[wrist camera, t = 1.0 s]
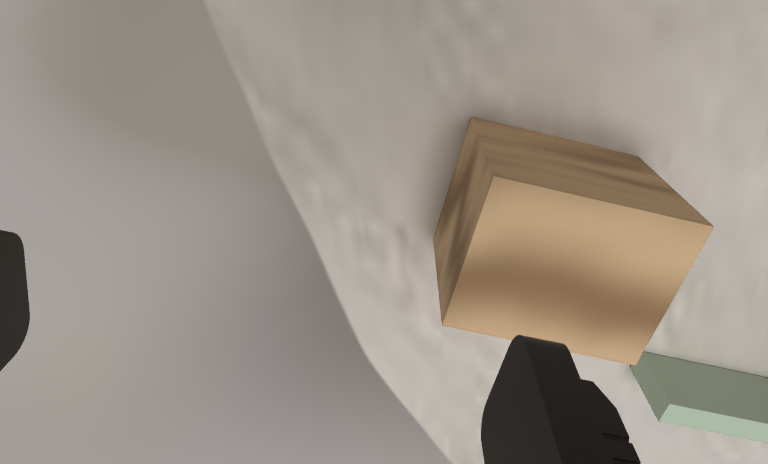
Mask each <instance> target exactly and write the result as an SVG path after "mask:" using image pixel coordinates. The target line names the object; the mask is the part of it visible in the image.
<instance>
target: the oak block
mask: <svg viewBox="0 0 768 464" xmlns="http://www.w3.org/2000/svg"><path fill="white" fill-rule="evenodd" d="M713 228H714V226H713V225H712V224H711V223H709V222H708V221H707V220H706V219H705V218H704V217H703V216H702V215H701V214H700V213H699V212H698V211H697V210H695V209H694V208H693V207H692V206H691V205H690V204H689V203H688V202H687V201H686V200H685V199H684V198H682V197H681V196H680V195H679V194H678V193H677V192H676V191H675V190H674V189H673V188H672V187H671V186H670V185H668V184H667V183H666V182H665V181H664V180H663V179H662V178H661V177H660V176H659V175H658V174H657V173H656V172H654V171H653V170H652V169H651V168H650V167H649V166H648V165H647V164H646V163H645V162H644V161H643V160H641V159H640V158H639V157H638V156H634V155H630V154H626V153H621V152H617V151H613V150H609V149H605V148H600V147H596V146H592V145H588V144H584V143H579V142H575V141H571V140H567V139H563V138H558V137H554V136H550V135H546V134H542V133H538V132H533V131H529V130H525V129H521V128H517V127H512V126H508V125H504V124H500V123H496V122H491V121H487V120H483V119H479V118H475V117H471V118H470V121H469V125H468V128H467V131H466V134H465V138H464V141H463V144H462V147H461V150H460V154H459V157H458V160H457V163H456V167H455V170H454V173H453V176H452V180H451V183H450V186H449V189H448V192H447V196H446V199H445V202H444V205H443V209H442V212H441V215H440V218H439V222H438V225H437V228H436V231H435V234H434V238H433V242H434V252H435V261H436V271H437V281H438V291H439V301H440V310H441V320H442V326H447V327H452V328H457V329H461V330H466V331H471V332H476V333H481V334H485V335H490V336H495V337H500V338H505V339H510V340H513V339H514V337H516V336H517V335H523V336H528V337H533V338H538V339H543V340H548V341H553V342H558V343H563V344H565V345H566V346H567V347H568V349H569V351H570V352H572V353H577V354H582V355H587V356H592V357H597V358H601V359H606V360H611V361H616V362H621V363H626V364H630V365H636V364H637V362H638V360H639V358H640V357H641V355H642V353H643V351H644V350H645V348H646V346H647V344H648V343H649V341H650V339H651V337H652V336H653V334H654V332H655V330H656V329H657V327H658V325H659V323H660V321H661V320H662V318H663V316H664V314H665V313H666V311H667V309H668V307H669V306H670V304H671V302H672V300H673V299H674V297H675V295H676V293H677V292H678V290H679V288H680V286H681V285H682V283H683V281H684V279H685V277H686V276H687V274H688V272H689V270H690V269H691V267H692V265H693V263H694V262H695V260H696V258H697V256H698V255H699V253H700V251H701V249H702V248H703V246H704V244H705V242H706V241H707V239H708V237H709V235H710V234H711V232H712V230H713Z"/></svg>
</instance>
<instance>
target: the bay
mask: <svg viewBox="0 0 768 464" xmlns="http://www.w3.org/2000/svg"><path fill="white" fill-rule="evenodd" d="M630 368H631V370H632V372H633V374H634V376H635V378H636V380H637V382H638V383H639V385H640V387H641V389H642V391H643V393H644V395H645V397H646V399H647V400H648V402H649V404H650V406H651V408H652V410H653V412H654V414H655V416H656V417H657V419H658V421H659V422H664V423H669V424H674V425H679V426H684V427H689V428H694V429H699V430H704V431H709V432H714V433H719V434H724V435H729V436H734V437H739V438H744V439H749V440H754V441H759V442H764V443H768V378H766V377H762V376H757V375H752V374H747V373H743V372H738V371H733V370H728V369H723V368H719V367H714V366H709V365H704V364H700V363H695V362H690V361H685V360H681V359H676V358H671V357H666V356H661V355H657V354H652V353H647V352H643V353H642V355H641V357H640V358H639V360H638V362H637V364H636V365H631V366H630Z"/></svg>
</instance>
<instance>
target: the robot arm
mask: <svg viewBox="0 0 768 464" xmlns="http://www.w3.org/2000/svg"><path fill="white" fill-rule="evenodd" d="M29 320H30V312H29V302H28V290H27V280H26V269H25V258H24V248H23V243H22V240H21V239H20V237H19V236H18V235H17V234H15V233H12V232H7V231H2V230H0V371H1V370H2V369H3V368H4V366H5V365H6V364H7V363H8V362H9V361H10V360H11V359H12V358H13V357H14V356H15V354H16V353H17V352H18V350H19V349H20V347H21V345H22V343H23V341H24V339H25V336H26V334H27V330H28V326H29ZM481 442H482V449H483V456H484V462H485V464H640V463H641V462H640V460H639V458H638V455H637V453H636V451H635V449H634V446H633V444H632V443H629V435H628V433H627V431H626V429H625V427H624V424H623V422H622V420H621V418H620V415H619V413H618V411H617V409H616V408H615V406H614V405H613V404H612V403H611V402H610V401H609V400H608V398H607V397H606V396H605V395H604V394H603V393H602V392H601V390H600V389H599V388H598V387H597V386H596V385H595V384H594V382H592V381H587V380H582V379H580V376H579V374H578V371H577V369H576V366H575V364H574V361H573V359H572V356H571V354H570V351H569V349H568V347H567V346H566V345H565V344H563V343H558V342H553V341H548V340H543V339H538V338H533V337H528V336H523V335H517V336H516V337H514V339H513V340H512V342H511V344H510V346H509V348H508V351H507V353H506V355H505V358H504V360H503V363H502V365H501V368H500V370H499V373H498V375H497V377H496V380H495V382H494V385H493V387H492V390H491V392H490V394H489V397H488V399H487V402H486V405H485V408H484V412H483V417H482V425H481Z"/></svg>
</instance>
